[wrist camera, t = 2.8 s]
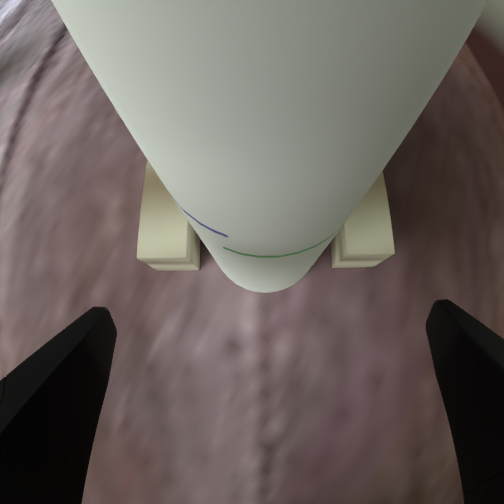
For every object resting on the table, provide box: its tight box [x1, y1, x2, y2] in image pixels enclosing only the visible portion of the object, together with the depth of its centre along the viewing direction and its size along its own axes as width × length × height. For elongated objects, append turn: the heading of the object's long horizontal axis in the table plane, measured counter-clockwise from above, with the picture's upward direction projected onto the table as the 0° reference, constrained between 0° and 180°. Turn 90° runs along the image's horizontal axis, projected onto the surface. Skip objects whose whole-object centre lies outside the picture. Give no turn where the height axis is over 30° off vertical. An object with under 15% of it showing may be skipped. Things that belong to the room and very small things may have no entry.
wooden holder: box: [137, 153, 395, 270], centre depth 20 cm, size 10×15×5 cm, turn 91°
